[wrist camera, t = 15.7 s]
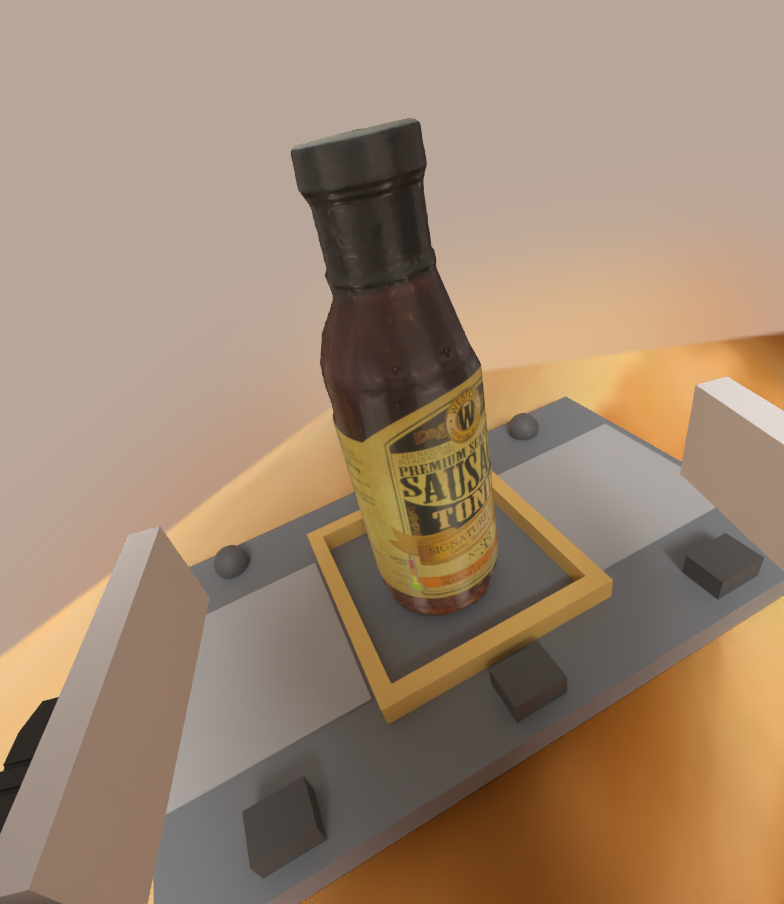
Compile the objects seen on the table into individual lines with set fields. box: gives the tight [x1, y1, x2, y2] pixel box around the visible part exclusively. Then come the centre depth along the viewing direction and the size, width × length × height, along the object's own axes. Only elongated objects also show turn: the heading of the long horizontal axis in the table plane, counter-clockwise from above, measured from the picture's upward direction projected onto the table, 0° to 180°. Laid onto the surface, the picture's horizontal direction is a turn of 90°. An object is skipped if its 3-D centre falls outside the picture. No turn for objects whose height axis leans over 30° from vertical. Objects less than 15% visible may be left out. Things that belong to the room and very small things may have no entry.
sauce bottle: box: [291, 118, 498, 616], centre depth 20 cm, size 6×6×20 cm
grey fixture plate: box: [154, 397, 784, 904], centre depth 26 cm, size 31×18×3 cm, turn 115°
